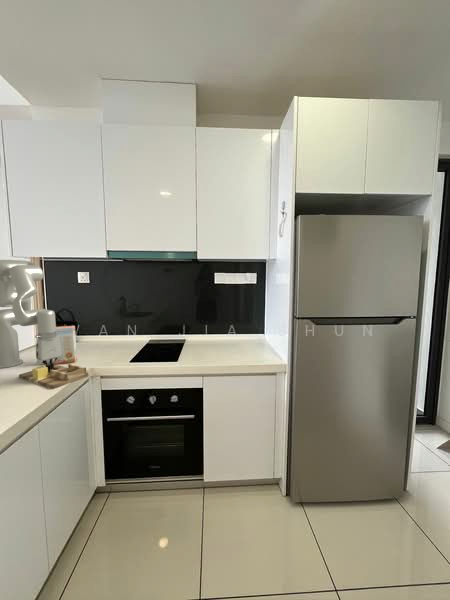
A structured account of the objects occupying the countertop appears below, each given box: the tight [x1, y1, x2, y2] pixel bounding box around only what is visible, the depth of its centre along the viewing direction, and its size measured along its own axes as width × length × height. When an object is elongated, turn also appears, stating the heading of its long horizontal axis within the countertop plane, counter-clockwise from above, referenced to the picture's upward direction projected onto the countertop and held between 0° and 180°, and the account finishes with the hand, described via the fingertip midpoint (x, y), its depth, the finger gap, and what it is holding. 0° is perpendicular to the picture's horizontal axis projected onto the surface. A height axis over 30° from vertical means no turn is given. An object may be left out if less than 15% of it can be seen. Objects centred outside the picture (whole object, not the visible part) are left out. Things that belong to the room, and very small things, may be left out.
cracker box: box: [54, 325, 78, 365], centre depth 154 cm, size 14×6×21 cm, turn 108°
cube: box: [31, 365, 48, 380], centre depth 128 cm, size 4×4×4 cm
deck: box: [18, 364, 89, 390], centre depth 133 cm, size 29×17×2 cm, turn 62°
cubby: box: [50, 363, 87, 381], centre depth 131 cm, size 13×10×3 cm
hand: (50, 371), depth 133 cm, fingers closed
